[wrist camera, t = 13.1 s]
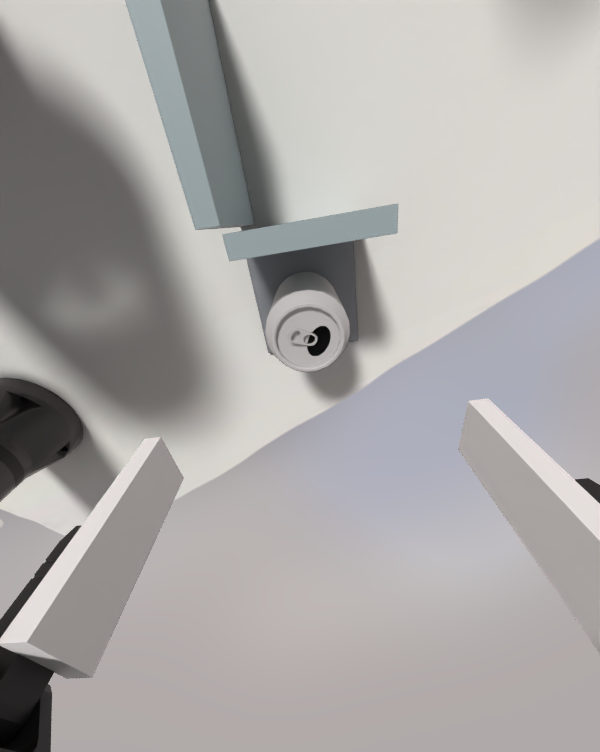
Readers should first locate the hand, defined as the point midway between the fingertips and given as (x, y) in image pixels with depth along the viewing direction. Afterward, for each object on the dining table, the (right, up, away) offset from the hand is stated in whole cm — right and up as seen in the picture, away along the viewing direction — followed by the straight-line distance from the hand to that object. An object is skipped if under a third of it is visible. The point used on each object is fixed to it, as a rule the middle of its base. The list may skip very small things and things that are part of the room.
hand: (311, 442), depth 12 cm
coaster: (0, +12, +21) cm, 24 cm away
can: (0, +12, +21) cm, 24 cm away
